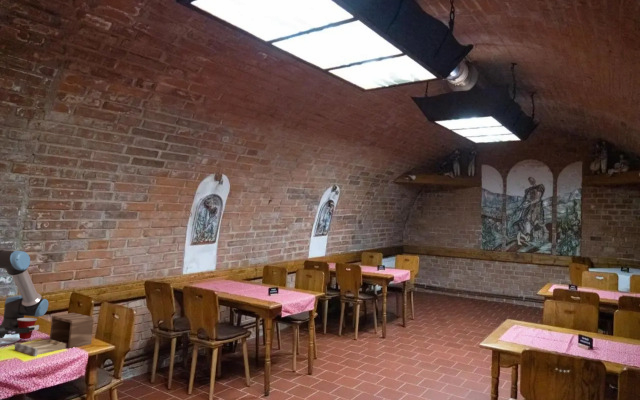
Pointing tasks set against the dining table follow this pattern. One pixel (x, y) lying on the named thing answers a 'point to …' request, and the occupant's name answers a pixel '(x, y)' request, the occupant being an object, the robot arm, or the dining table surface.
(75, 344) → the block
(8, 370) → the dining table surface
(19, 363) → the dining table surface
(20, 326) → the plastic cup
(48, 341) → the tray
